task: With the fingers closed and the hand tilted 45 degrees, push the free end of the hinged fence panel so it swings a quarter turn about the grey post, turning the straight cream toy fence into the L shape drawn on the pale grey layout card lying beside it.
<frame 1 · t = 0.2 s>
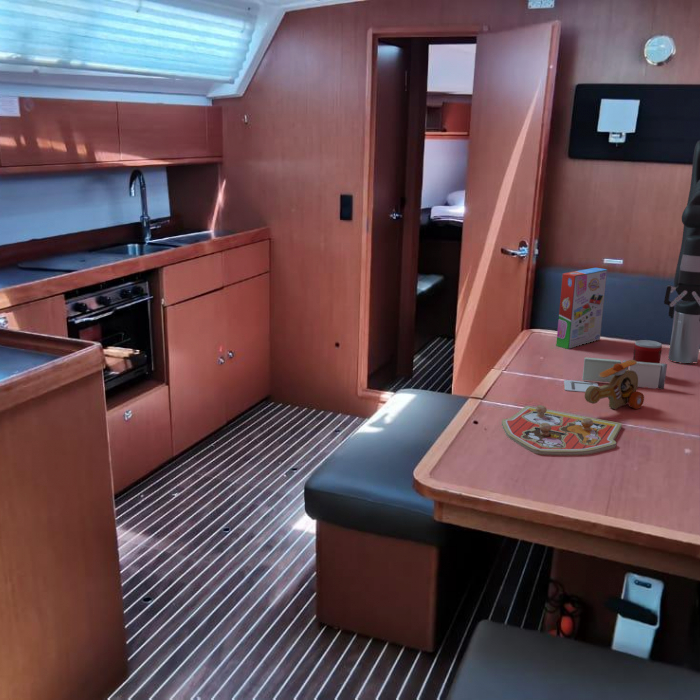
hand: (685, 319, 237), 17 cm above the table, tool pointing down, fingers open, 8 cm apart
layout card: (581, 386, 224), on the table
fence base: (622, 384, 227), on the table
toy helicopter: (612, 409, 206), on the table
canned food: (644, 376, 236), on the table
game box: (578, 343, 274), on the table
knob puzzle: (556, 437, 187), on the table
swing panel: (601, 370, 227), point 4 cm above the table, hinge at 0.0°
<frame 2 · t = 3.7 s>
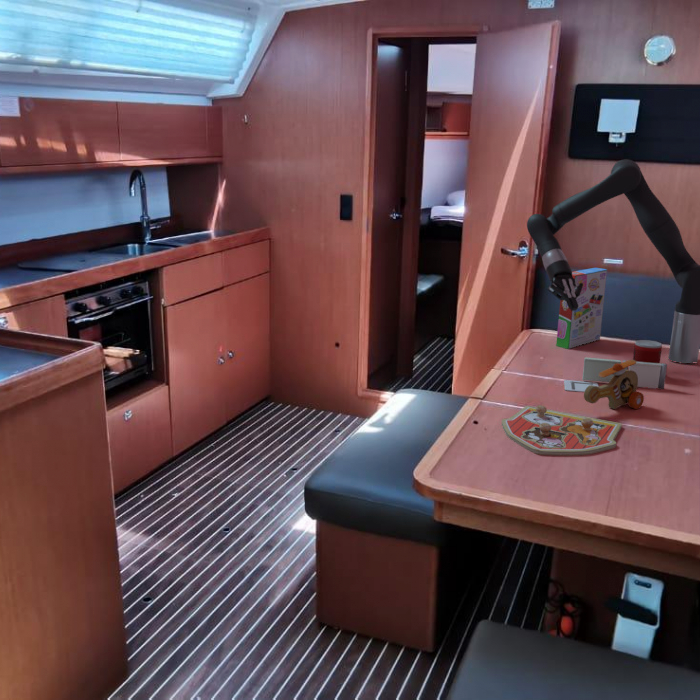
hand: (574, 309, 239), 20 cm above the table, tool tilted 45°, fingers closed
nothing on the table moved.
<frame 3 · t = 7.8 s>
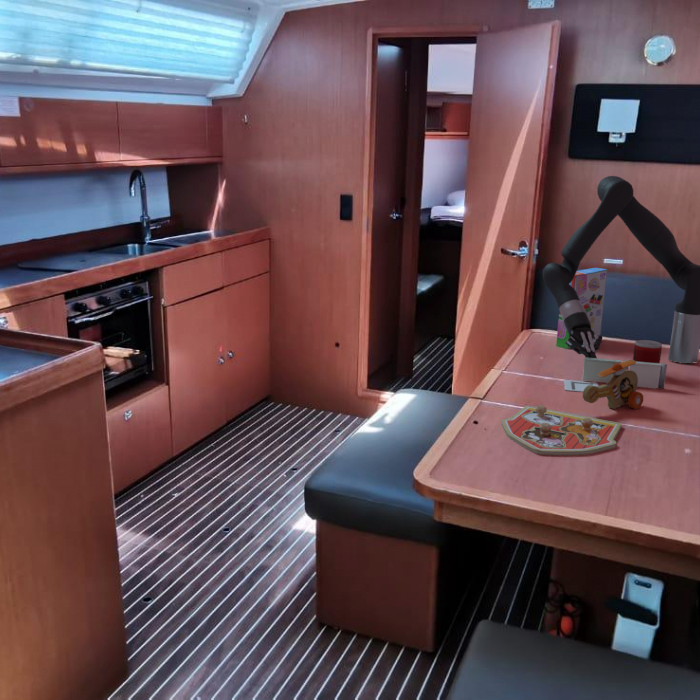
hand: (594, 364, 229), 5 cm above the table, tool tilted 45°, fingers closed
swing panel: (601, 370, 227), point 4 cm above the table, hinge at 0.3°, touching gripper
everything else where it was.
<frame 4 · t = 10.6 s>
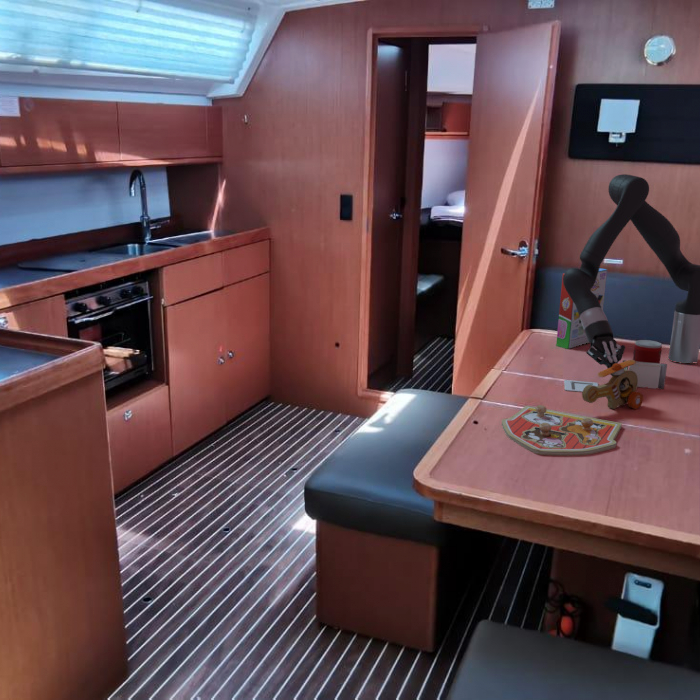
hand: (616, 375, 219), 5 cm above the table, tool tilted 45°, fingers closed
swing panel: (622, 378, 220), point 4 cm above the table, hinge at 80.0°, touching gripper
everything else where it was.
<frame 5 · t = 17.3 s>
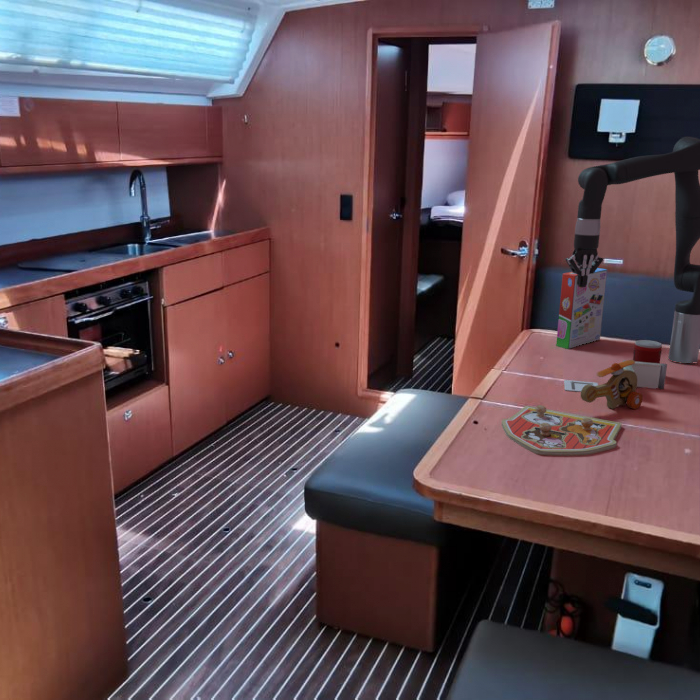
hand: (581, 286, 237), 27 cm above the table, tool pointing down, fingers closed
swing panel: (627, 378, 220), point 4 cm above the table, hinge at 92.0°
everything else where it was.
at the end: swing panel at +92° (first picture: +0°) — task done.
